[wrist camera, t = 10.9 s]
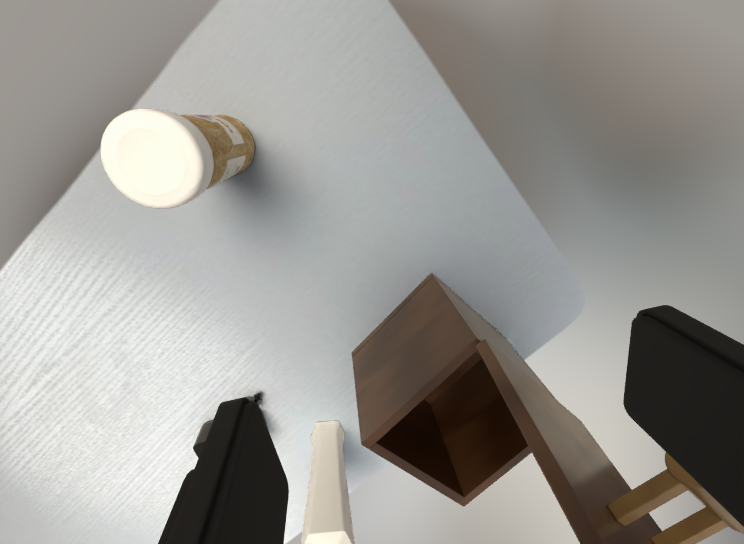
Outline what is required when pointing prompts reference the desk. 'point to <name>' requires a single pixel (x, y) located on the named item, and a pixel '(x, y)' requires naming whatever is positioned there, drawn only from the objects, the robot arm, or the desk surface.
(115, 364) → the desk surface
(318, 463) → the white faceted vase
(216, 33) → the desk surface
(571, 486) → the lid
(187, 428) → the desk surface
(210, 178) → the sprinkles bottle
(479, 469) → the chest
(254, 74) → the desk surface
